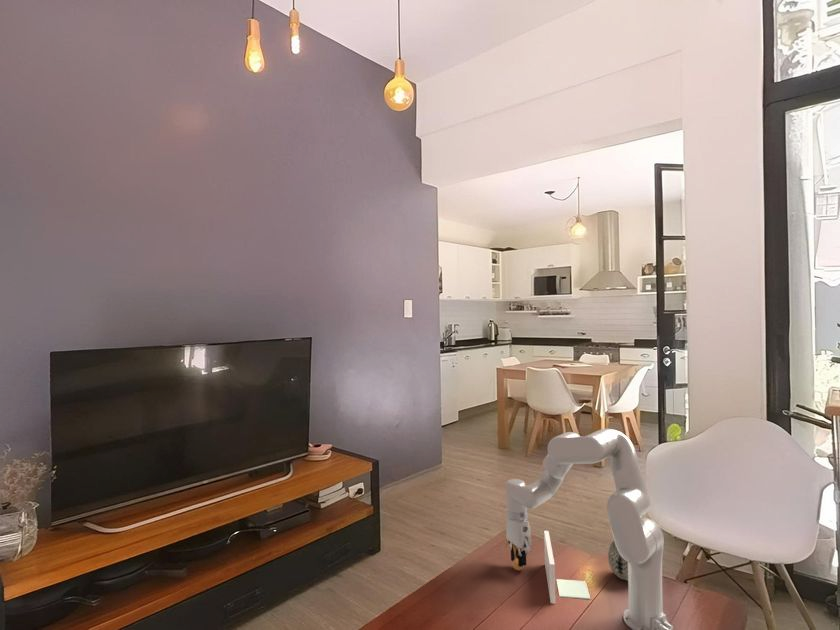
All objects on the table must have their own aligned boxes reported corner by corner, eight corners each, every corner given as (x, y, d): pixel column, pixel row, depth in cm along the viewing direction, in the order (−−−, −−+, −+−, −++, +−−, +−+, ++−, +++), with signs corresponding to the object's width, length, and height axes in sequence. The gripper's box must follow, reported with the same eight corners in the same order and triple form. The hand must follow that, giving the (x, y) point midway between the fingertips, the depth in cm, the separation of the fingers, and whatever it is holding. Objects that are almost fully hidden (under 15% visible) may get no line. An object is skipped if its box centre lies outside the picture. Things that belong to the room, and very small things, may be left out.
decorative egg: (648, 577, 170) (648, 536, 170) (637, 592, 162) (636, 548, 162) (615, 566, 178) (615, 526, 178) (603, 579, 170) (602, 537, 170)
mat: (590, 599, 158) (590, 598, 158) (559, 596, 160) (559, 595, 160) (585, 582, 168) (585, 581, 168) (556, 580, 170) (556, 579, 170)
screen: (555, 603, 157) (554, 564, 156) (550, 603, 157) (549, 564, 157) (549, 565, 180) (548, 530, 180) (544, 564, 181) (544, 530, 180)
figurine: (507, 572, 176) (506, 540, 176) (505, 564, 182) (504, 532, 182) (530, 572, 176) (529, 540, 175) (526, 563, 182) (526, 532, 181)
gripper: (539, 520, 172) (541, 570, 172) (511, 504, 187) (513, 550, 187) (522, 524, 169) (524, 576, 169) (495, 508, 184) (497, 555, 184)
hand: (518, 562), depth 178 cm, fingers closed on figurine, 3 cm apart
